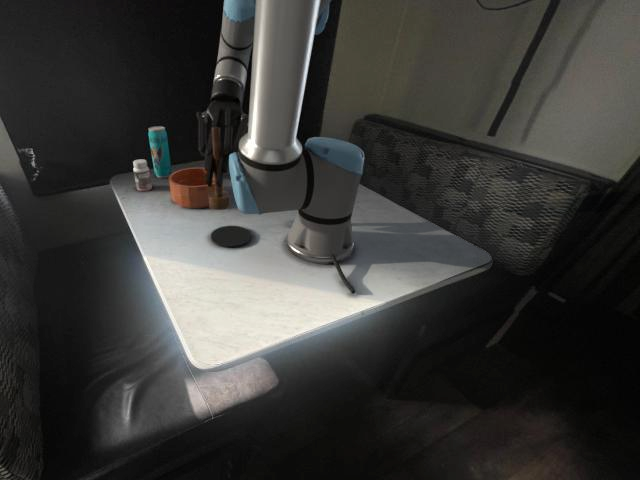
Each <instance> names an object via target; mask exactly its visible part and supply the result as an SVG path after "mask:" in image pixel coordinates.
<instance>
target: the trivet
mask: <svg viewBox="0 0 640 480" xmlns="http://www.w3.org/2000/svg"><path fill="white" fill-rule="evenodd" d="M210 239H211V242H212V243H213V244H214V245H216V246H218V247H220V248H227V249H234V248H235V249H236V248H240V247H244V246H246V245H248V244H249V243H250V242H251V241H252V233H251V232H250V230H249V229H247V228H245V227H243V226H238V225H225V226H220V227H218V228H216V229H214V230H213V231H212V232H211V233H210Z"/></svg>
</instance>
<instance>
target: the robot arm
mask: <svg viewBox="0 0 640 480" xmlns="http://www.w3.org/2000/svg"><path fill="white" fill-rule="evenodd" d="M332 1H333V0H223V2H222V3H223V4H222V5H223V6H222V9H223V11H222V21H221V29H220V37H219V43H218V53H217V58H216V59H217V60H216V66H215V70H214V77H213V84H212V88H211V95H210V103H209V105H208V107H207V109H206V111H203V112H202V111H197V112H196V118H197V121H198V151H199V153H200V155H201V157H205V158H204V163H203V168H204V169H205V170H206V171H207V175H206V183H207V185H208V187H211V186H212V180H213V174H214V163H213V144H212V127H220V132H221V130H222V129H224V144H223V151H222V152H223V154H221V155H220V160H219V167H218V173H217V180H216V183H217V185H218V187H219V188H222V182H223V183H224V175H225V174H228V173H229V174H230V175H229V176H230V182H231V187H232V191H233V196H234V201H235V203H236V204H235V205H236V206H237V209H238V210H239V212H241V213H242V214H245V215H262V214H269V213H278V212H290V211H291V212H292V211H297V214H296V216H295V219H294V220H293V223H292V225H291V226H290V229H289V231H288V233H287V236H286V248H287V250H288V251H289V252H290V253H291V254H292V255H293V256H294V257H296V258H298V259H300V260H302V261H304V262H305V261H306V262H309V263H312V264H321V265H327V264H333V265H334V267H335V269H336V271H337V273H338V275H339V277H340V280H341V281H342V282H343V284H344V286H345V287H346V288H347V289H348V291H349V292H350V293H351V294H352V295H354V294H356V289H355V288H354V287H353V286H352V284H351V283H350V281H348V279H347V277H346V276H345V274H344V271H343V270H342V267H341V266H340V264H339V263H340V262H343V261H345V260H346V259H348V258H349V257H350V256H351V255H352V252H353V248H354V235H353V228H352V227H353V226H352V216H353V211H354V208H355V205H356V204H355V203H356V199H357V196H358V190H359V186H360V182H361V178H362V176H363V174H364V172H363V171H364V164H365V163H364V162H365V153H364V151H363V150H362V148H360V147H359V146H358V145H355V144H353V143H351V142H348V141H346V140H342V139H337V138H332V137H326V136H325V137H324V136H313V137H310V138H308V139H307V140H306V142H305V144H304V147H305V148H303V146H302V143H301V142H300V140H299V139H298V138H297V134H298V128H299V122H300V117H301V112H302V106H303V102H304V101H303V100H304V96H305V90H306V86H307V85H306V84H307V79H308V72H309V68H310V61H311V57H312V50H313V45H314V39H315V36H318V35H320V34H321V33H322V32H323V31H324V29H325V27H326V23H327V22H328V20H329V15H330V3H331V2H332ZM251 52H252V58H251V75H250V76H251V77H250V91H249V93H250V94H249V108H248V113H244V111H243V103H244V98H245V90H246V83H247V79H248V78H247V76H248V69H249V63H250V57H251ZM208 119H210V120H211V129H210V131H209V132H210V133H209V137H208V140H207V124H208V122H209V121H208ZM239 121H240V123H239V126H238V129H237V132H236V137H235V139H234V142H233V134H234V127H235V126H236V124H237V123H238V122H239Z"/></svg>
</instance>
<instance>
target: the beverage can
mask: <svg viewBox="0 0 640 480" xmlns="http://www.w3.org/2000/svg"><path fill="white" fill-rule="evenodd" d="M148 142H149V146H150V147H149V148H150V154H151V159H152V164H153V171H154V174H155V175H156V177H157V178H159V179H167V178H169V176H170V175H171V174H172V164H171V163H172V162H171V157H170V150H169V141H168V134H167V131H166V127H164V126H161V125H159V126H150V127H148Z"/></svg>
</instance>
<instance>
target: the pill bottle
mask: <svg viewBox="0 0 640 480" xmlns="http://www.w3.org/2000/svg"><path fill="white" fill-rule="evenodd" d="M132 165H133V168H132V170H133V176H134V181H135V187H136V189H137V190H138V191H149V190H151V189H152V188H153V184H152V179H151V173H150V168H149V166H148V161H147V160H146V159H144V158H143V159H141V158H140V159H139V158H138V159H135V160H133V161H132Z"/></svg>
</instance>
